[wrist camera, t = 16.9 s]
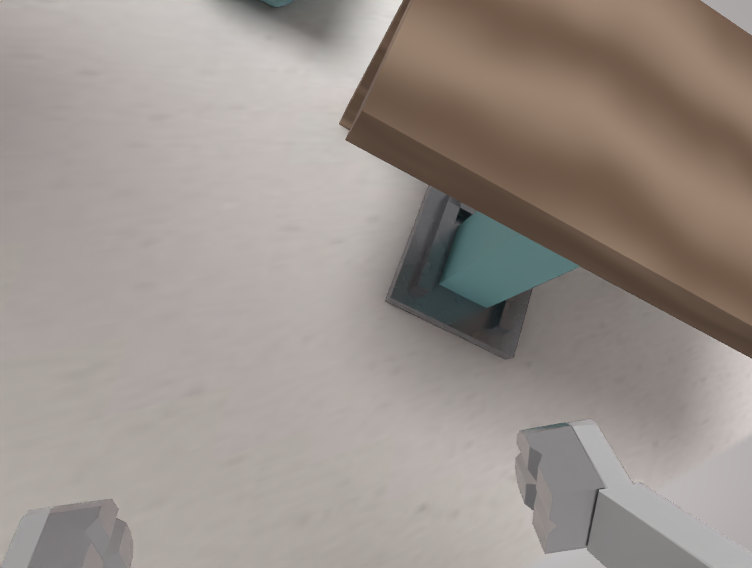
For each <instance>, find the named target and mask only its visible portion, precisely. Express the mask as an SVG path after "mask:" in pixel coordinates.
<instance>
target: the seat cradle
mask: <svg viewBox="0 0 752 568" xmlns="http://www.w3.org/2000/svg"><path fill="white" fill-rule="evenodd" d="M476 212H477V210H475V209H473V208H471V207H469V206H467V205H465V204H464V203H462V202H460V201H458V200H456V199H454V198H452V197H451V196H449V195H447V194H445V193H443V192H441V191H439V190H437V189H436V188H434V187H432V186H430V185H429V186H428V189H427V191H426V194H425V197H424V199H423V202H422V205H421V207H420V210H419V213H418V215H417V218H416V220H415V223H414V226H413V228H412V231H411V234H410V236H409V239H408V242H407V244H406V247H405V250H404V252H403V255H402V257H401V260H400V263H399V265H398V268H397V271H396V273H395V276H394V279H393V281H392V284H391V286H390V289H389V292H388V294H387V297H386V300H385V301H386V302H388V303H390V304H392V305H394V306H396V307H399V308H401V309H403V310H405V311H407V312H409V313H411V314H413V315H415V316H417V317H419V318H421V319H423V320H425V321H428V322H430V323H432V324H434V325H436V326H438V327H440V328H442V329H444V330H446V331H448V332H450V333H452V334H454V335H457V336H459V337H461V338H463V339H465V340H467V341H469V342H471V343H473V344H475V345H477V346H479V347H481V348H483V349H485V350H488V351H490V352H492V353H494V354H496V355H498V356H500V357H502V358H504V359H510V358H513V357H514V354H515V351H516V347H517V343H518V340H519V336H520V332H521V329H522V325H523V321H524V318H525V314H526V310H527V307H528V303H529V299H530V296H531V292H532V288H531V289H529V290H526V291H524V292H522V293H520V294H517V295H515V296H513V297H511V298H509V299H506V300H504V301H502V302H500V303H497V304H495V305H493V306H491V307H488V308H485V307H483V306H481V305H479V304H477V303H475V302H473V301H471V300H469V299H467V298H465V297H463V296H461V295H459V294H457V293H455V292H453V291H451V290H449V289H447V288H445V287H443V286H441V285H439V282H440V279H441V276H442V273H443V270H444V267H445V264H446V261H447V258H448V256H449V253H450V250H451V247H452V244H453V241H454V238H455V235H456V232H457V229H458V226H459V225H460V224H461V223H463V222H464V221H465V220H466V219H468V218H469V217H470V216H472V215H473V214H474V213H476Z"/></svg>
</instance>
